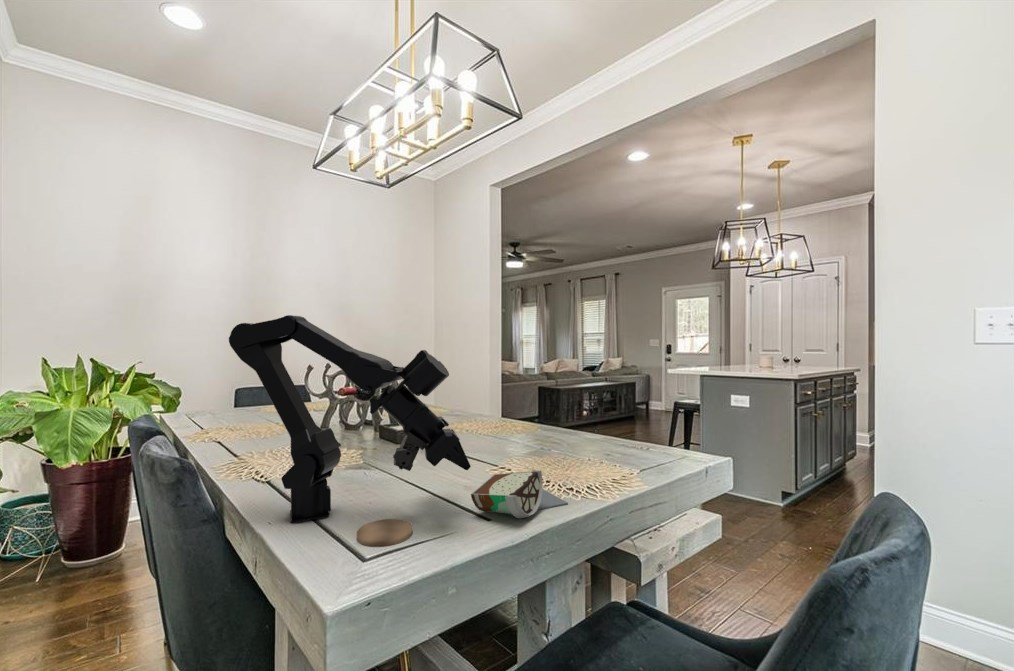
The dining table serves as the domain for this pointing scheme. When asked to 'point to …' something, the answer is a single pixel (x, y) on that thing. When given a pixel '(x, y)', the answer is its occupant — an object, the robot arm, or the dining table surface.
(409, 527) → the walnut coaster
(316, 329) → the robot arm
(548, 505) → the rubber mat
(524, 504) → the food container
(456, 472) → the dining table surface
